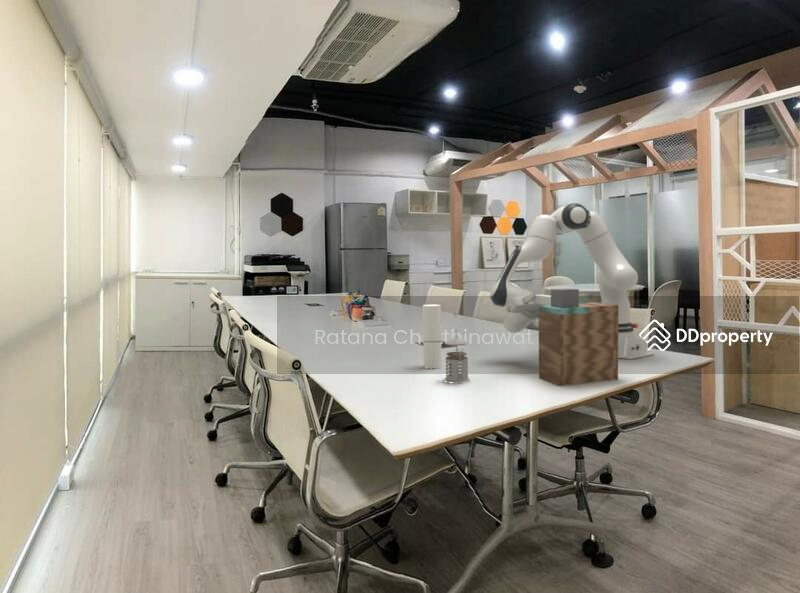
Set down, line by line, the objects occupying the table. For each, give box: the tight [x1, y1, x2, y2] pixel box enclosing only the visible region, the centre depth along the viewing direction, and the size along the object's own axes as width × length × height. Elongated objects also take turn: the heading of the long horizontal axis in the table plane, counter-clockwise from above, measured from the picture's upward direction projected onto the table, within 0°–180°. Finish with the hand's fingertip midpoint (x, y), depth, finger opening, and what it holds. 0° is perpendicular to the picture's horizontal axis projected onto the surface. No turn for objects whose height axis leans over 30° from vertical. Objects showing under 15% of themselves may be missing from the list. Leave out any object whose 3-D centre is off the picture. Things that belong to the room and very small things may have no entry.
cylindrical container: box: [422, 303, 443, 369], centre depth 211 cm, size 7×7×25 cm
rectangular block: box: [533, 288, 580, 308], centre depth 188 cm, size 7×20×6 cm, turn 17°
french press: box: [444, 310, 471, 384], centre depth 187 cm, size 10×12×25 cm
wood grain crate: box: [538, 301, 619, 387], centre depth 185 cm, size 24×12×26 cm, turn 107°
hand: (545, 294), depth 193 cm, fingers open, 8 cm apart
